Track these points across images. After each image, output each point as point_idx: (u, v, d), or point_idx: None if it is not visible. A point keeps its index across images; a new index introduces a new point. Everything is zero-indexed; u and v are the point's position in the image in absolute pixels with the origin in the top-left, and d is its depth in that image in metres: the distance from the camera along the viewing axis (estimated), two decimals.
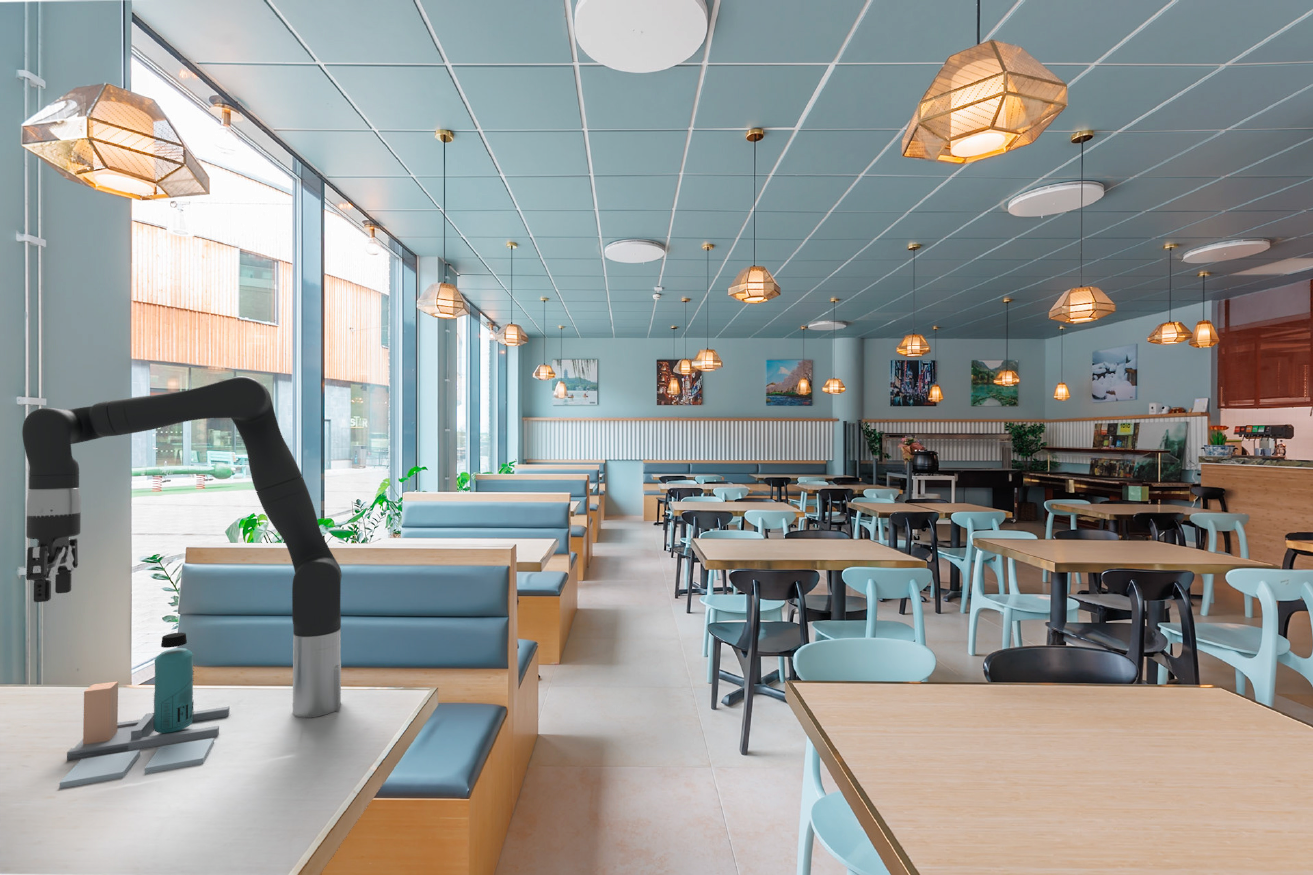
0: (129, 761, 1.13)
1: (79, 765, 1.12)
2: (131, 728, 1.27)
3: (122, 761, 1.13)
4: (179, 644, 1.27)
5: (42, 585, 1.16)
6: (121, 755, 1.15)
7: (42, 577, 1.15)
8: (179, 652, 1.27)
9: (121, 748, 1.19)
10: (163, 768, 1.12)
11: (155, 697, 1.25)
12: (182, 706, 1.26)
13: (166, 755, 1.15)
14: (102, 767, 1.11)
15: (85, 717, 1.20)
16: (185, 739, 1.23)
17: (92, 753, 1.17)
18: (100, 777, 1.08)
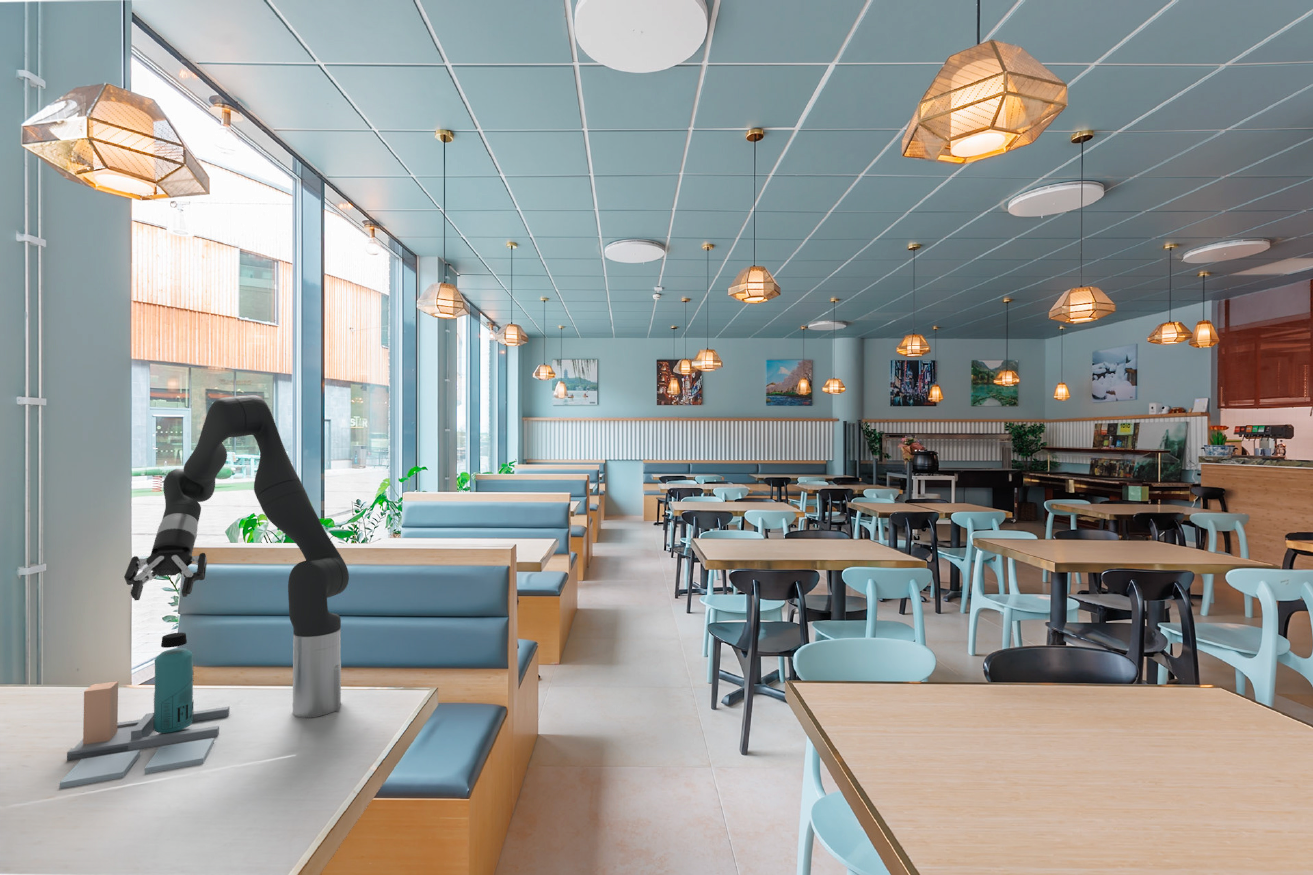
0: (129, 761, 1.13)
1: (79, 765, 1.12)
2: (131, 728, 1.27)
3: (122, 761, 1.13)
4: (179, 644, 1.27)
5: None
6: (121, 755, 1.15)
7: (124, 577, 1.37)
8: (179, 652, 1.27)
9: (121, 748, 1.19)
10: (163, 768, 1.12)
11: (155, 697, 1.25)
12: (182, 706, 1.26)
13: (166, 755, 1.15)
14: (102, 767, 1.11)
15: (85, 717, 1.20)
16: (185, 739, 1.23)
17: (92, 753, 1.17)
18: (100, 777, 1.08)
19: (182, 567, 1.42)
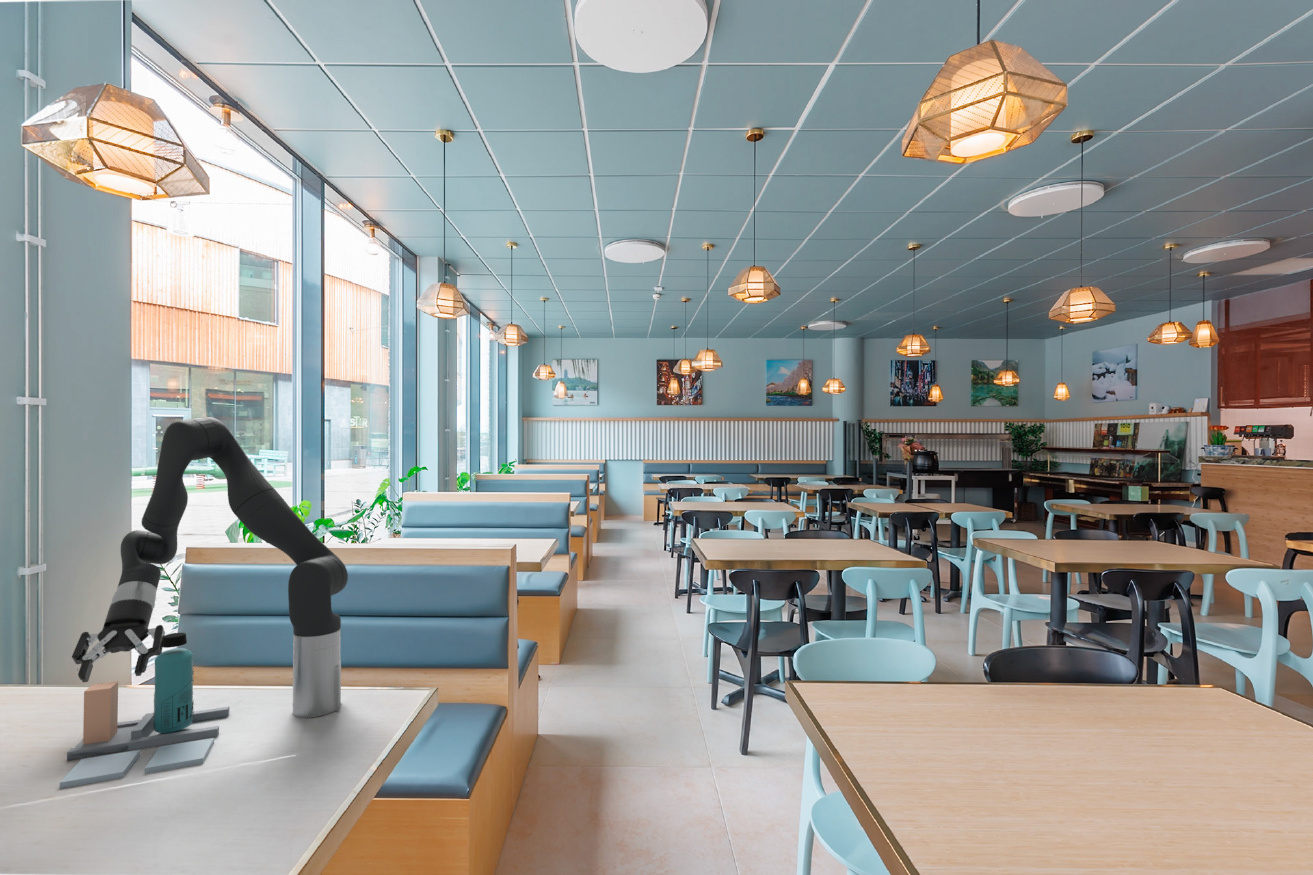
0: (129, 761, 1.13)
1: (79, 765, 1.12)
2: (131, 728, 1.27)
3: (122, 761, 1.13)
4: (179, 644, 1.27)
5: None
6: (121, 755, 1.15)
7: (72, 657, 1.27)
8: (179, 652, 1.27)
9: (121, 748, 1.19)
10: (163, 768, 1.12)
11: (155, 697, 1.25)
12: (182, 706, 1.26)
13: (166, 755, 1.15)
14: (102, 767, 1.11)
15: (85, 717, 1.20)
16: (185, 739, 1.23)
17: (92, 753, 1.17)
18: (100, 777, 1.08)
19: (136, 643, 1.32)
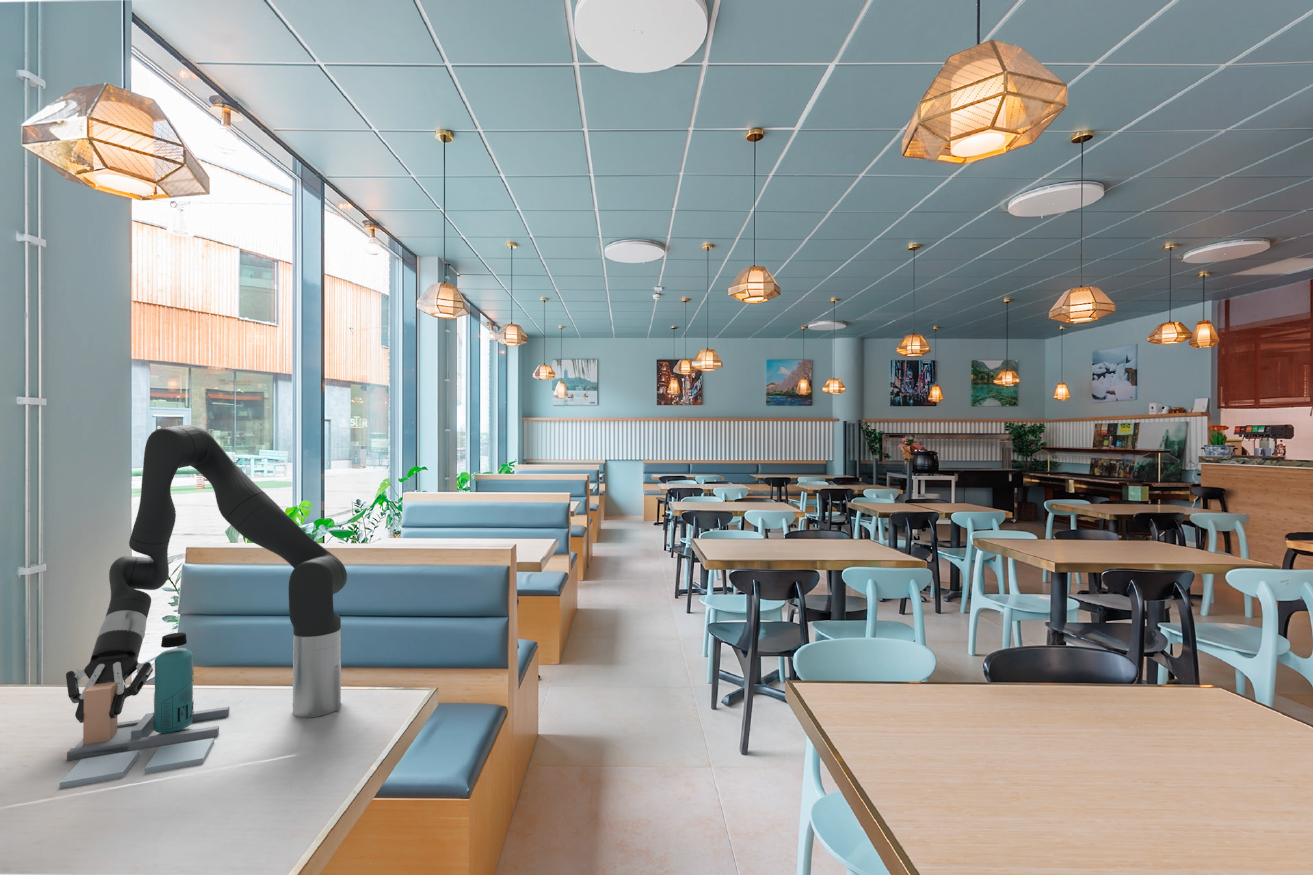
0: (129, 761, 1.13)
1: (79, 765, 1.12)
2: (131, 728, 1.27)
3: (122, 761, 1.13)
4: (179, 644, 1.27)
5: None
6: (121, 755, 1.15)
7: (69, 696, 1.21)
8: (179, 652, 1.27)
9: (121, 748, 1.19)
10: (163, 768, 1.12)
11: (155, 697, 1.25)
12: (182, 706, 1.26)
13: (166, 755, 1.15)
14: (102, 767, 1.11)
15: (85, 717, 1.20)
16: (185, 739, 1.23)
17: (92, 753, 1.17)
18: (100, 777, 1.08)
19: (117, 680, 1.25)
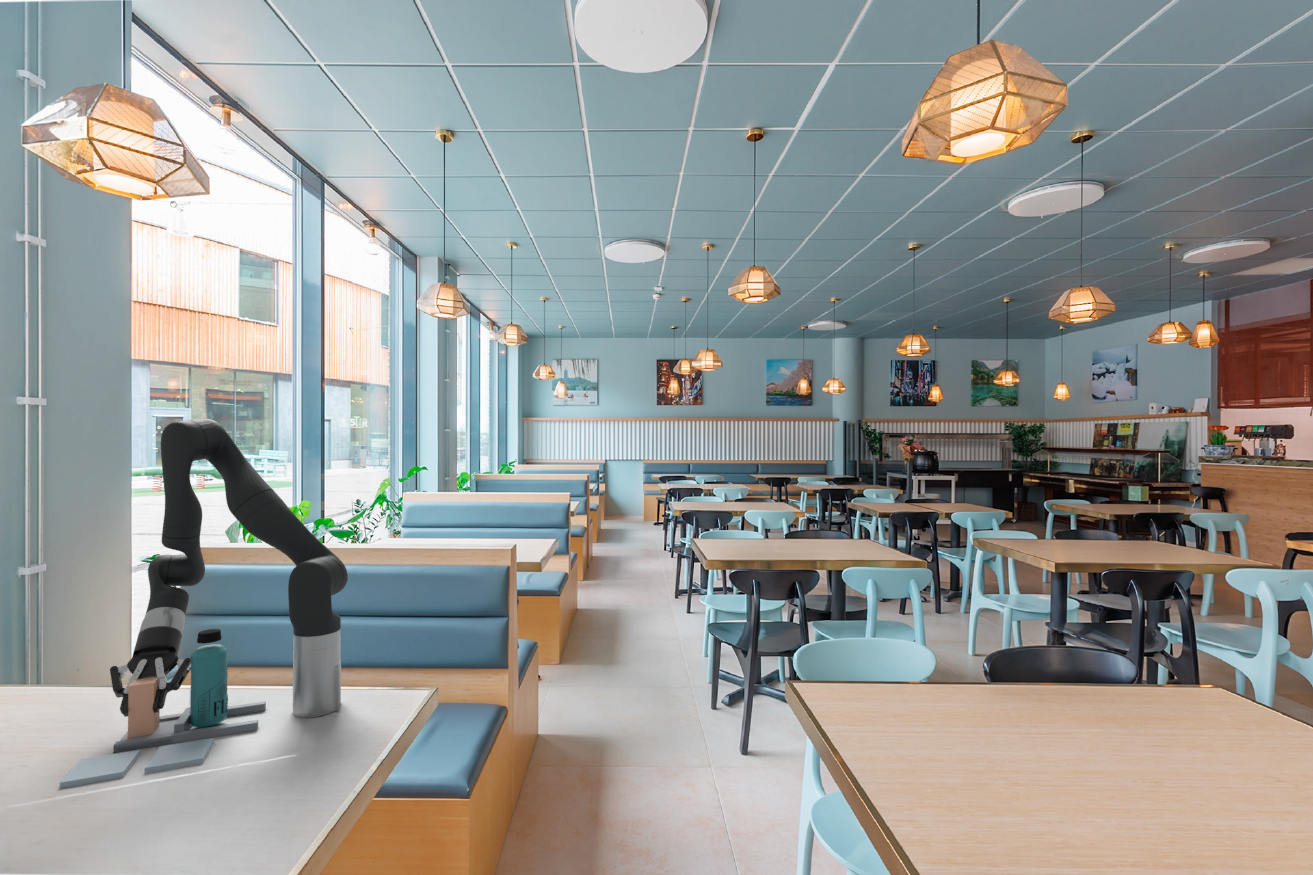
0: (129, 761, 1.13)
1: (79, 765, 1.12)
2: (172, 722, 1.29)
3: (122, 761, 1.13)
4: (215, 640, 1.29)
5: None
6: (121, 755, 1.15)
7: (113, 690, 1.24)
8: (215, 648, 1.30)
9: (165, 741, 1.22)
10: (163, 768, 1.12)
11: (192, 692, 1.27)
12: (218, 700, 1.28)
13: (166, 755, 1.15)
14: (102, 767, 1.11)
15: (129, 711, 1.23)
16: (227, 732, 1.26)
17: (137, 746, 1.20)
18: (100, 777, 1.08)
19: (159, 675, 1.28)
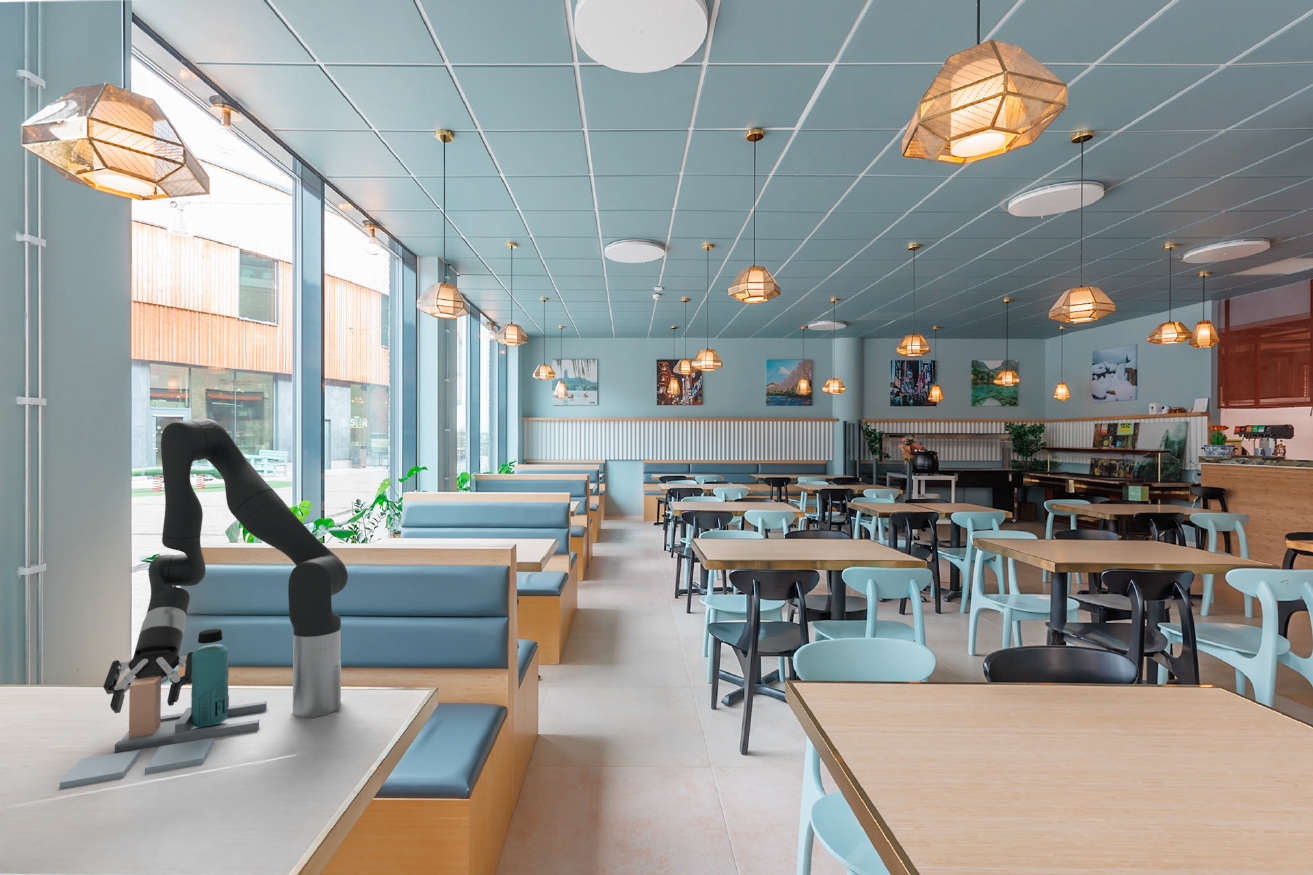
0: (129, 761, 1.13)
1: (79, 765, 1.12)
2: (173, 722, 1.29)
3: (122, 761, 1.13)
4: (216, 640, 1.29)
5: None
6: (121, 755, 1.15)
7: None
8: (216, 648, 1.30)
9: (166, 741, 1.22)
10: (163, 768, 1.12)
11: (193, 692, 1.27)
12: (219, 700, 1.29)
13: (166, 755, 1.15)
14: (102, 767, 1.11)
15: (131, 711, 1.23)
16: (228, 732, 1.26)
17: (138, 746, 1.20)
18: (100, 777, 1.08)
19: (168, 671, 1.28)
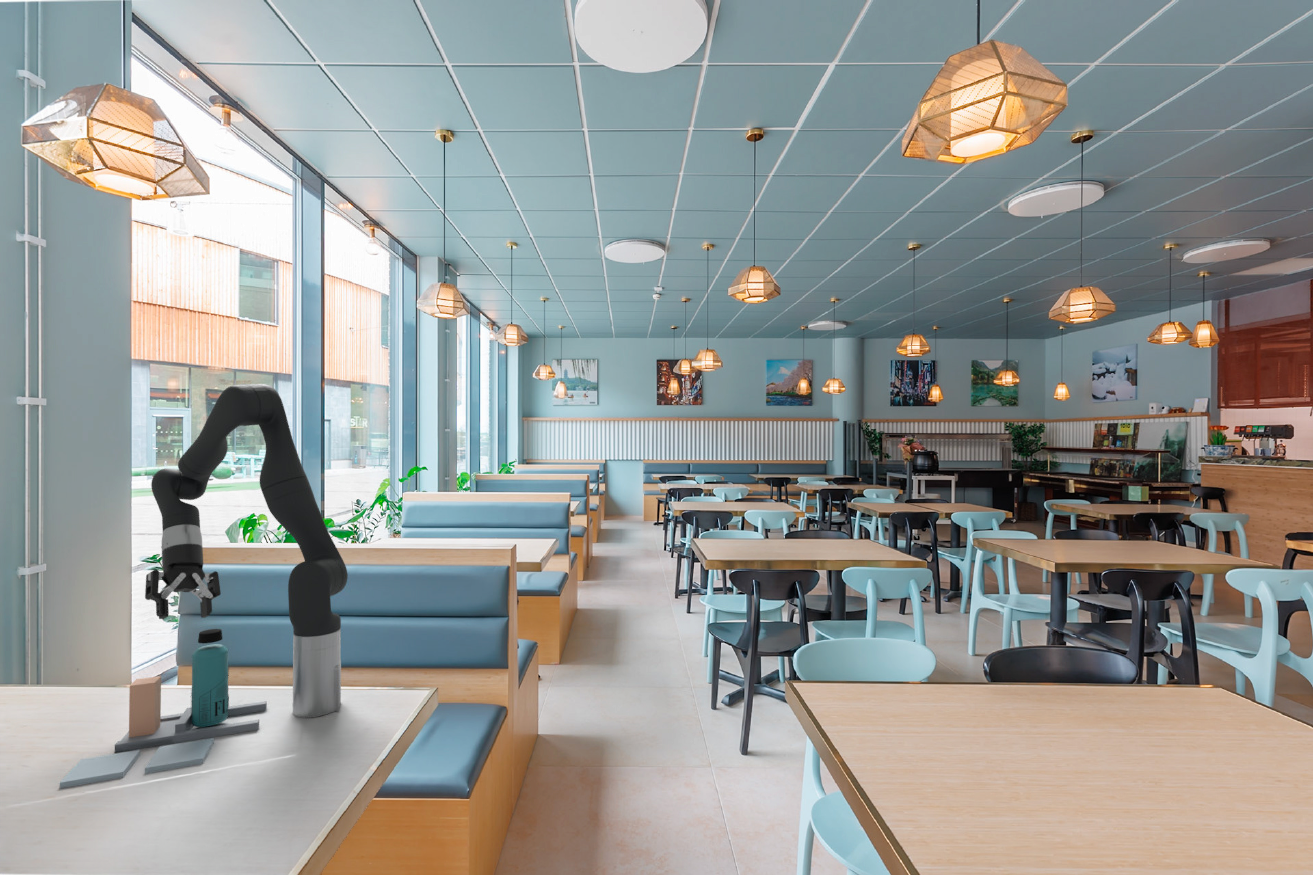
0: (129, 761, 1.13)
1: (79, 765, 1.12)
2: (173, 722, 1.29)
3: (122, 761, 1.13)
4: (216, 640, 1.29)
5: (159, 603, 1.36)
6: (121, 755, 1.15)
7: (151, 594, 1.35)
8: (216, 648, 1.30)
9: (166, 741, 1.22)
10: (163, 768, 1.12)
11: (193, 692, 1.27)
12: (219, 700, 1.29)
13: (166, 755, 1.15)
14: (102, 767, 1.11)
15: (131, 711, 1.23)
16: (228, 732, 1.26)
17: (138, 746, 1.20)
18: (100, 777, 1.08)
19: (203, 587, 1.44)
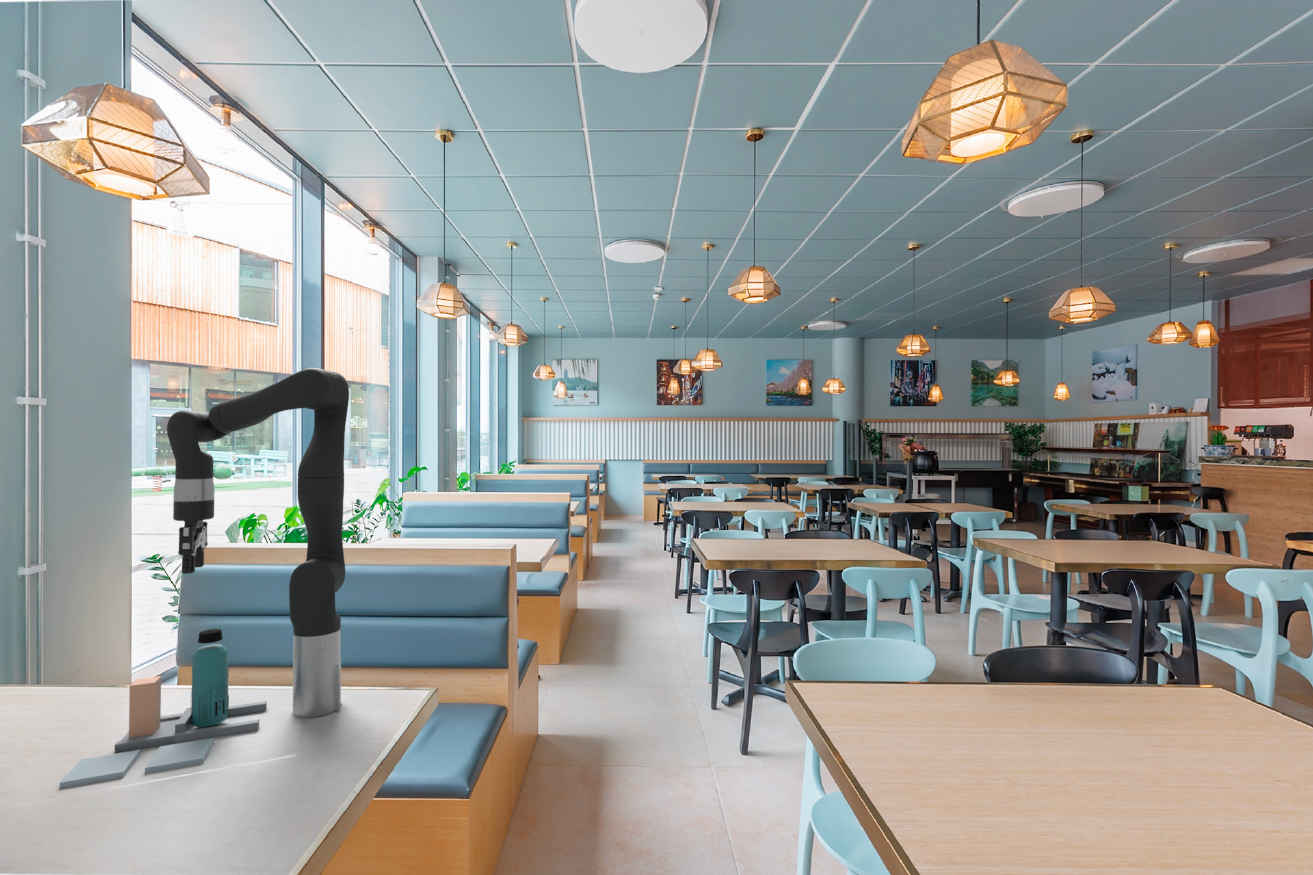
0: (129, 761, 1.13)
1: (79, 765, 1.12)
2: (173, 722, 1.29)
3: (122, 761, 1.13)
4: (216, 640, 1.29)
5: (189, 559, 1.38)
6: (121, 755, 1.15)
7: (191, 552, 1.37)
8: (216, 648, 1.30)
9: (166, 741, 1.22)
10: (163, 768, 1.12)
11: (193, 692, 1.27)
12: (219, 700, 1.29)
13: (166, 755, 1.15)
14: (102, 767, 1.11)
15: (131, 711, 1.23)
16: (228, 732, 1.26)
17: (138, 746, 1.20)
18: (100, 777, 1.08)
19: (205, 540, 1.47)
